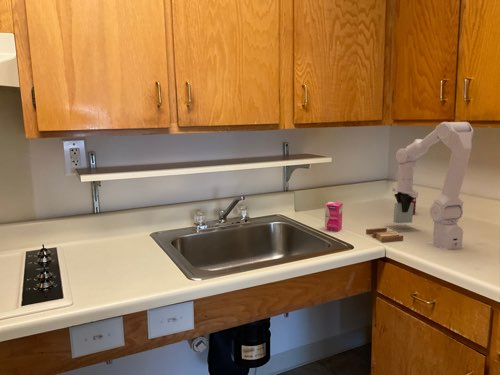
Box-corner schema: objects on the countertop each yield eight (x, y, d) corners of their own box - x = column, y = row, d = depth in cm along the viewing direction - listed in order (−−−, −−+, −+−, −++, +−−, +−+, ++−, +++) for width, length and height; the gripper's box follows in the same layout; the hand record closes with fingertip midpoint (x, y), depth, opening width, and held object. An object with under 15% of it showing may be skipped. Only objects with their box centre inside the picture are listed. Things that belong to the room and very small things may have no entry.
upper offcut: (399, 237, 151) (399, 234, 151) (382, 238, 149) (382, 236, 149) (393, 234, 155) (393, 231, 154) (376, 235, 153) (376, 233, 153)
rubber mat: (420, 232, 163) (420, 230, 163) (398, 234, 160) (398, 232, 160) (405, 225, 172) (405, 224, 172) (384, 227, 170) (384, 226, 170)
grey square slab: (411, 222, 166) (413, 203, 165) (395, 223, 164) (397, 203, 163) (409, 221, 167) (411, 202, 166) (393, 222, 166) (395, 203, 164)
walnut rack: (403, 242, 150) (403, 236, 149) (382, 244, 148) (382, 237, 148) (385, 233, 161) (385, 227, 161) (365, 235, 159) (366, 229, 159)
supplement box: (324, 231, 165) (324, 204, 163) (328, 228, 170) (329, 201, 168) (338, 233, 162) (339, 205, 160) (342, 229, 167) (342, 202, 165)
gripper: (386, 176, 169) (384, 208, 171) (407, 181, 155) (405, 216, 157) (401, 175, 170) (399, 207, 173) (423, 181, 156) (421, 215, 159)
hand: (403, 211), depth 165 cm, fingers closed on grey square slab, 2 cm apart
